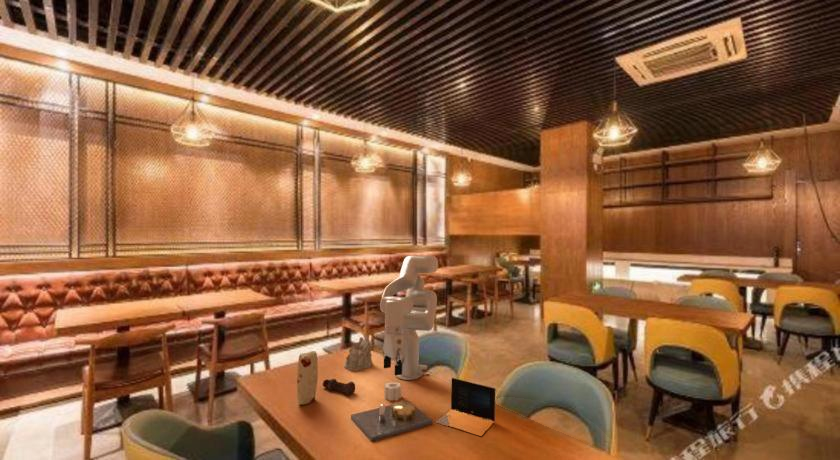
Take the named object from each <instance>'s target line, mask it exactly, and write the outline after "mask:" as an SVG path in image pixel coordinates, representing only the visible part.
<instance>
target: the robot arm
mask: <svg viewBox="0 0 840 460" xmlns="http://www.w3.org/2000/svg"><path fill="white" fill-rule="evenodd" d="M438 268H439V259H438V257H436V256H434V255H418V254H415V255H414V254H412V255H407V256H406V257H405V258H404V260H403V262H402V264H401V268H400V271H399V275H398V276H397V278H396V279H394V280H392V281H391V282H390V283H388V285H386V286H385V288H384V289H383V291H382V292H383V293H382V295H381V298H380V302H379V308H380V309H379V310H380V311H381V312H382V313H384V338H383V339H384V340H383V345H382V354H383V356H382V357H383V369H389V368H391V367H392V360H394V363H395V364H394V376H395V377H396V378H397V379H399V380H405V381H413V380H414V381H415V380H419V379H420V378H421V377H422V376H423V375H422V371H423V370H427V369H428V365H426V364H423V365H422V364H419V362H420V359H419V357H420V356H419V355H420V337H419V335H418V333H417V331H420V332H421V331H422V332H423V331H424V332H425V331H426V332H429V331H431V330H432V329H433V328H434V324H435V318H436V313H437V304H438V297H437V293H436V292H435V291H433V290H431V289H428V290H427V289H425V281H424V279H423V277H422V276H421V275H420V274H434V273H436V272H437V271H438ZM404 291H405V295H404V296H394V295H396V294H399V293H402V292H404Z"/></svg>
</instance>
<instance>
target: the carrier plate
mask: <svg viewBox="0 0 840 460" xmlns="http://www.w3.org/2000/svg"><path fill="white" fill-rule="evenodd" d="M406 402H410V401H409V400H406ZM391 406H393V404H390V405H385V404H383V403H382V404H380V405H379V407H377V408H374V409H369V410H364V411H361V412H357V413H354V414H351V415H350V420H351V421H352V422H353V423H354V424H355V425H356V426H357V427H358V429H360V431H361V432H362V433H363V434H364V435H365V436H366V437H367V438H368V439H369V441H370V442H371V443H372V442H376V441H379V440H383V439H386V438H389V437H393V436H396V435H400V434H403V433H406V432H411V431H413V430H417V429H420V428H423V427H427V425H428V426H431V425H433V419H432V418H431V417H430V416H428V415H427V414H426V413H424V412H423V411H422V410H421V409H419V408H418V407H416V414H414V418H409V419H407V420H403V419H395V417H394V416H393V415H392V416H391Z"/></svg>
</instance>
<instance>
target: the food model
mask: <svg viewBox="0 0 840 460" xmlns="http://www.w3.org/2000/svg"><path fill="white" fill-rule="evenodd" d="M318 371H319V367H318V352H317V351H315V350H311V351H309V352H305V353H300V354H299V355H298V362H297V373H296V383H297V384H296V386H297V387H296V388H297V401H298V405H307V404H310V403H312V402H313V401H315V399H316V393H317V386H318V380H319V379H318V375H319V373H318Z"/></svg>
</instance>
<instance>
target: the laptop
mask: <svg viewBox="0 0 840 460" xmlns="http://www.w3.org/2000/svg"><path fill="white" fill-rule="evenodd" d="M450 389H451V394H450V396H451V397H450V398H451V399H450V401H451V402H450V407H451V408H450V410H451V409H452V410H456V411H459V412H462V413H463V412H464V413H467V414H469V415H470V414H471V415H474V416H476V417H477V416H478V417H482V418H483V419H484V418H485V419H488V420H492V421H493V422H496V388H495V387H493V386H492V387H491V386H488V385H483V384H478V383H476V382H471V381H468V380H463V379H459V378H455V377H451V388H450ZM450 410H448V411H447V412H449V411H450ZM444 416H445V417H444ZM443 417H444V418H443ZM447 417H448V416H447V415H446V413H444V414H443V415H442V416H441V417H440V418H439V419H438V420H436V421H435V423H436V424H438V423H439V425H442V426H445V425H446V426H445V427H448V426H450V425H449V424H450V423H449V421H448V418H447ZM449 417H450V415H449ZM446 418H447V419H446ZM451 427H452V426H450V427H449V428H451Z"/></svg>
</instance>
